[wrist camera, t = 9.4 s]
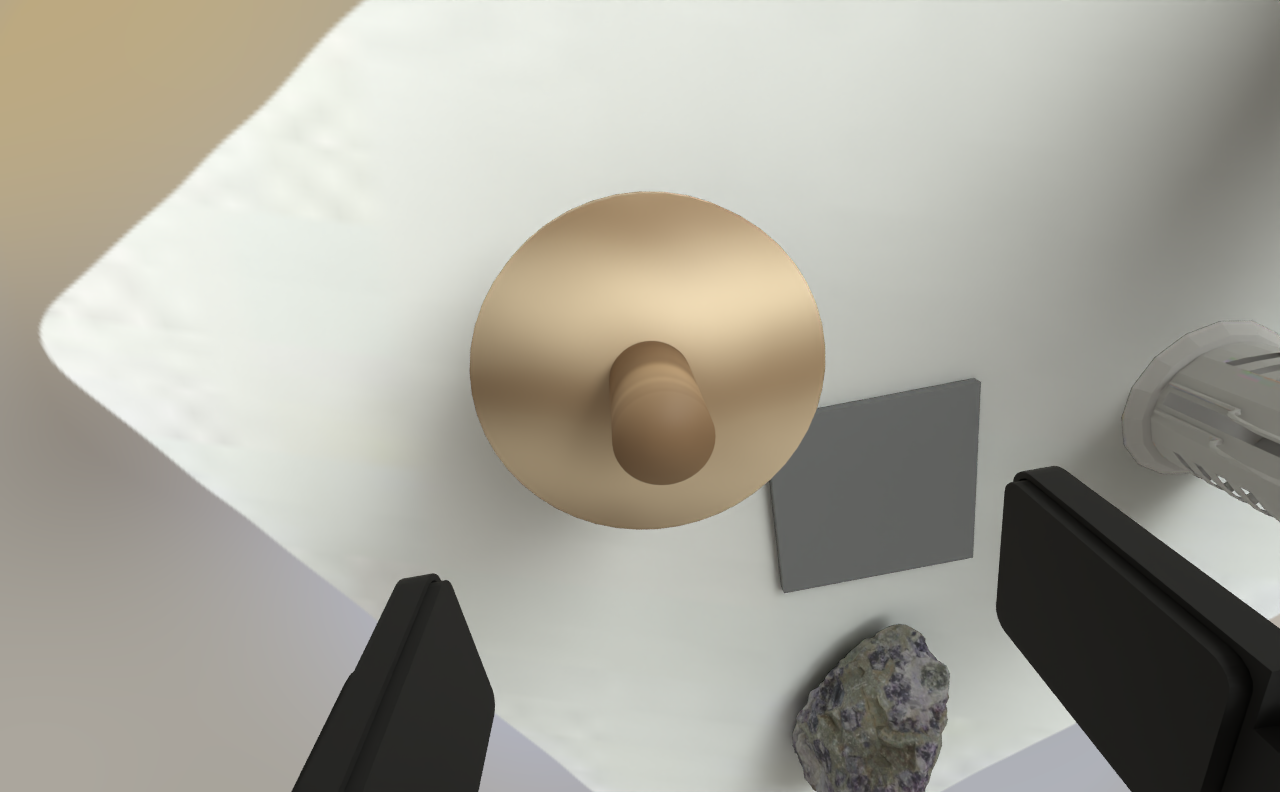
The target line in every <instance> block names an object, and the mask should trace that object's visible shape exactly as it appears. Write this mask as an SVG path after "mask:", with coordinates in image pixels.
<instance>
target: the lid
mask: <svg viewBox="0 0 1280 792" xmlns="http://www.w3.org/2000/svg"><path fill="white" fill-rule="evenodd" d="M824 372H825V342H824V335H823V327H822V322H821V319H820V315H819V312H818V308H817V305H816V302H815V300H814V298H813V295H812V293H811V291H810V289H809V286H808V284H807V282H806V281H805V279H804V277H803V276H802V274H801V273H800V271H799V269H798V268H797V266H796V265H795V263H794V262H793V261H792V260H791V258H790V257H789V256H788V255H787V254H786V253H785V251H784V250H783V249H782V248H781V247H780V246H779V245H778V244H777V243H776V242H775V241H774V240H773V239H771V238H770V237H769V236H768V235H767V234H766V233H765V232H763V231H762V230H761V229H760V228H758V227H757V226H755V225H753V224H752V223H750V222H749V221H747V220H746V219H744V218H743V217H741V216H739V215H737V214H735V213H733V212H731V211H729V210H726V209H724V208H722V207H720V206H718V205H716V204H713V203H711V202H708V201H705V200H701V199H698V198H695V197H691V196H688V195H682V194H675V193H668V192H632V193H624V194H616V195H612V196H608V197H604V198H601V199H597V200H593V201H590V202H588V203H585V204H583V205H581V206H578V207H576V208H574V209H571V210H569V211H567V212H565V213H564V214H562V215H560V216H559V217H557V218H555V219H554V220H552V221H550V222H549V223H547V224H546V225H545V226H543V227H542V228H541V229H540V230H538V231H537V232H536V233H535V234H534V235H532V236H531V237H530V238H529V239H528V240H527V241H526V242H525V243H524V244H523V245H522V246H521V247H520V248H519V249H518V250H517V251H516V253H515V254H514V255H513V256H512V257H511V258H510V260H509V261H508V262H507V263H506V265H505V266H504V268H503V269H502V271H501V272H500V273H499V275H498V276H497V278H496V279H495V281H494V282H493V284H492V286H491V288H490V290H489V292H488V294H487V296H486V298H485V300H484V302H483V304H482V306H481V309H480V312H479V315H478V318H477V321H476V324H475V328H474V333H473V338H472V344H471V351H470V380H471V390H472V396H473V400H474V404H475V408H476V412H477V416H478V418H479V421H480V423H481V426H482V428H483V431H484V433H485V435H486V437H487V439H488V441H489V443H490V444H491V446H492V448H493V450H494V451H495V453H496V454H497V456H498V457H499V458H500V460H501V461H502V462H503V464H504V465H505V466H506V468H507V469H508V470H509V471H510V472H511V473H512V474H513V475H514V476H515V477H516V478H517V479H518V480H519V482H520V483H521V484H522V485H524V486H525V487H526V488H527V489H529V490H530V491H531V492H532V493H534V494H535V495H536V496H537V497H539V498H540V499H542V500H544V501H545V502H547V503H548V504H550V505H552V506H553V507H555V508H557V509H559V510H561V511H563V512H565V513H568V514H570V515H572V516H574V517H576V518H580V519H583V520H586V521H589V522H592V523H595V524H600V525H605V526H610V527H615V528H625V529H661V528H668V527H675V526H681V525H685V524H689V523H693V522H697V521H700V520H703V519H705V518H708V517H711V516H713V515H716V514H719V513H721V512H723V511H725V510H727V509H729V508H731V507H733V506H735V505H737V504H738V503H740V502H741V501H743V500H744V499H746V498H747V497H749V496H750V495H752V494H753V493H755V492H756V491H757V490H758V489H760V488H761V487H762V486H763V485H765V484H766V483H767V482H768V481H769V480H771V478H772V477H773V476H774V475H775V474H776V473H777V472H778V471H779V470H780V469H781V468H782V467H783V466H784V465H785V464H786V462H787V461H788V460H789V458H790V457H791V456H792V454H793V453H794V452H795V450H796V449H797V448H798V446H799V444H800V443H801V441H802V439H803V437H804V436H805V434H806V432H807V431H808V429H809V426H810V424H811V421H812V419H813V417H814V414H815V412H816V409H817V406H818V402H819V399H820V395H821V391H822V386H823V379H824Z"/></svg>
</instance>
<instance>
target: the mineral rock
mask: <svg viewBox="0 0 1280 792" xmlns="http://www.w3.org/2000/svg"><path fill="white" fill-rule="evenodd" d="M949 679H950V673H949V671H948V669H947V667H946V665H944V664H943V663H941V662H940V661H937V659H936V658H935V657H934V655H933V654H932V653H931V652H930V651H929V650H928V647H927V645H926V643H925V638H924V637H923V635H922V634H921V633H919V632H918V631H916V630H914V629H913V628H911V627H909V626H907V625H900V624H898V625H893V626H889V627H887V628H885V629H883V630H881V631H880V632H878V633H877V634H876V635H875V636H874V637H872V638H868V639H864V640H863V641H862V642H861V643H860V644H859V645H857V646H856V647H855V648H854V649H852V650H851V651H850V652H849V653H848V655H847V656H846V657H845V658H843V659H841V660H840V661H839V663H838V665H837V666H836V667H835V668H834V669H832V670H831V671H830V672H829V673H828V675H827V676H826V677H825V680H824V681H823V682H822V683H820V685H819V687H818V688H815V689H814V690H812V691H811V692H810V694H809V697H808V702H807V704H806V705H805V707H804V708H803V709H802V710H800V712H799V713H798V715H797V717H796V720H797V724H796V726H795V729H794V731H793V733H792V736H793V747H794V750H795V753H797V754H798V758H799V761H800V763H801V765H802V767H803V771H804V778H805V779H806V780H807V782H808V783H809V784H810V785H811V786H812V788H813V790H815V791H817V792H925V788H926V786H927V784H928V783H929V779H930V776H931V772H932V769H933V767H934V765H935V763H936V761H937V759H938V756H939V753H940V750H941V747H942V735H941V733H942V732H943V730H944V728H945V726H946V724H947V720H948V719H947V707H946V703H947V701H948V698H949V695H948V690H949Z"/></svg>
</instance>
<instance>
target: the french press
mask: <svg viewBox="0 0 1280 792" xmlns="http://www.w3.org/2000/svg"><path fill="white" fill-rule="evenodd" d="M1122 428H1123V439H1124V445H1125V447H1126V448H1127V449H1128V451H1129V452H1130V454H1131V455H1132V456H1133V458H1134V459H1135V460H1136V462H1137V463H1138V464H1139V465H1142V466H1144V467H1146V468H1149V469H1151V470H1154V471H1156V472H1158V473H1161V474H1174V473H1191V474H1193V475H1194V476H1196V477H1198V478H1201V479H1204V480H1205V481H1206V482H1207V483H1209V484H1211V485H1213V486H1215V487H1217V488H1219V489H1221V490H1224V491H1226V492H1227V493H1228V494H1229V495H1231V496H1233V497H1235V498H1237V499H1238V500H1240V501H1242V502H1246V503H1248V504H1250V505H1251V506H1252V507H1253V508H1254V509H1256V510H1258V511H1260V512H1262V513H1264V514H1266V515H1268V516H1272V517H1274V518H1275V519H1277V520H1278V521H1279V522H1280V338H1279V336H1278V334H1277V333H1276V332H1274V331H1272V330H1270V329H1268V328H1266V327H1264V326H1262V325H1260V324H1258V323H1256V322H1254V321H1220V322H1217V323H1214V324H1212V325H1209V326H1206V327H1204V328H1201V329H1199V330H1196V331H1193V332H1191V333H1188V334H1185V335H1184V336H1183V337H1181V338H1180V339H1179V340H1178V341H1176V342H1175V343H1174V344H1172V345H1171V346H1170V347H1168V348H1167V349H1166V350H1164V351H1163V352H1162V353H1160V354H1159V355H1158V356H1156V357H1155V358H1154V359H1153V360H1152V362H1151V363H1150V364H1149V366H1148V367H1147V368H1146V370H1145V371H1144V372H1143V374H1142V375H1141V376H1140V378H1139V379H1138V380H1137V382H1136V383H1135V384H1134V386H1133V387H1132V389H1131V392H1130V395H1129V398H1128V401H1127V404H1126V407H1125V410H1124V412H1123V415H1122ZM1218 476H1220V477H1222V478H1224V479H1225V480H1226V481H1227V482H1225V483H1222V482H1221V480H1220V479H1219V478H1218ZM1210 480H1213V481H1214V482H1215V483H1216V484H1217V485H1215V484H1213V483H1212V482H1211V481H1210ZM1240 487H1241V488H1243V489H1245V490H1247V491H1249V492H1250V493H1249V494H1247V495H1246V494H1245V493H1244V491H1243V490H1242V489H1241V488H1240ZM1234 490H1235V491H1236V493H1237V494H1238V495H1240V496H1241V497H1238V496H1235V495H1234V494H1233V493H1232V492H1233V491H1234ZM1258 502H1259V503H1260V504H1261V505H1262V507H1263V508H1264V509H1265V510H1262V509H1260V508H1259V507H1258V506H1257V505H1256V504H1257V503H1258Z"/></svg>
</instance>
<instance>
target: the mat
mask: <svg viewBox="0 0 1280 792" xmlns="http://www.w3.org/2000/svg"><path fill="white" fill-rule="evenodd" d="M980 388H981V382H980V381H978V380H976V379H975V378H973V379H968V380H963V381H958V382H953V383H947V384H942V385H937V386H932V387H927V388H921V389H916V390H911V391H906V392H900V393H895V394H890V395H885V396H880V397H874V398H869V399H864V400H859V401H854V402H848V403H843V404H838V405H833V406H828V407H822V408H817V409H816V412H815V414H814V417H813V419H812V421H811V424H810V426H809V429H808V431H807V432H806V434H805V436H804V437H803V439H802V441H801V443H800V444H799V446H798V448H797V449H796V450H795V452H794V453H793V454H792V456H791V457H790V458H789V460H788V461H787V462H786V464H785V465H784V466H783V467H782V468H781V469H780V470H779V471H778V472H777V473H776V474H775V475H774V476H773V477H772V478H771V480H770V488H771V497H772V506H773V515H774V524H775V533H776V542H777V551H778V560H779V569H780V578H781V587H782V589H783V592H784V593H788V592H793V591H799V590H804V589H809V588H814V587H820V586H825V585H830V584H836V583H841V582H846V581H851V580H857V579H862V578H867V577H872V576H878V575H883V574H888V573H894V572H899V571H904V570H909V569H915V568H920V567H925V566H931V565H936V564H941V563H946V562H952V561H957V560H962V559H967V558H973V545H974V522H975V500H976V478H977V455H978V433H979V410H980Z"/></svg>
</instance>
